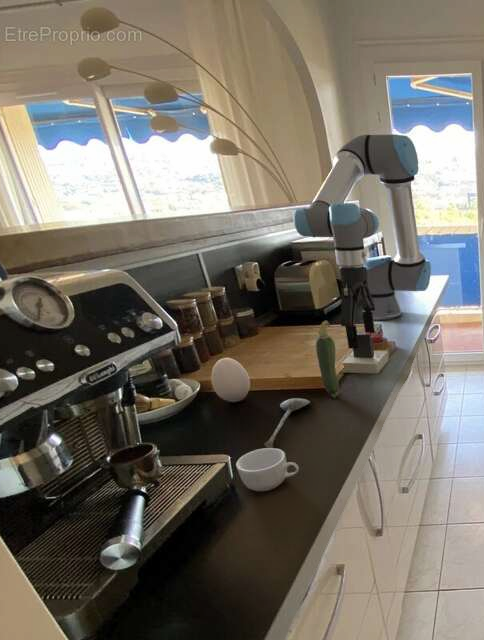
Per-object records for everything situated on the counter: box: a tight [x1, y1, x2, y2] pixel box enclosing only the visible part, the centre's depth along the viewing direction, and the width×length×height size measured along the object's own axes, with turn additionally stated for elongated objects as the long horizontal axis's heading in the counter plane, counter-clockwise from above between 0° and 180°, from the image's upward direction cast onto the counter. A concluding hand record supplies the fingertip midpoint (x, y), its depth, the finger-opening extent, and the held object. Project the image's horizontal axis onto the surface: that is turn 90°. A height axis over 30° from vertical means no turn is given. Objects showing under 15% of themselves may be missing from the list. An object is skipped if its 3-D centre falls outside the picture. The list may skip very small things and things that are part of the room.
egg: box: [210, 357, 251, 403], centre depth 109 cm, size 8×8×11 cm
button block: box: [373, 336, 397, 357], centre depth 144 cm, size 10×9×4 cm
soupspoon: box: [263, 397, 311, 448], centre depth 101 cm, size 22×3×7 cm
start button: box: [372, 333, 384, 343], centre depth 142 cm, size 4×4×2 cm
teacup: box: [235, 447, 300, 492], centre depth 80 cm, size 10×8×5 cm
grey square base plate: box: [339, 351, 390, 374], centre depth 133 cm, size 11×11×3 cm
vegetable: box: [315, 320, 340, 399], centre depth 111 cm, size 4×4×20 cm
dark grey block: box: [352, 332, 374, 358], centre depth 131 cm, size 6×2×7 cm, turn 85°
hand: (362, 340), depth 130 cm, fingers open, 13 cm apart
